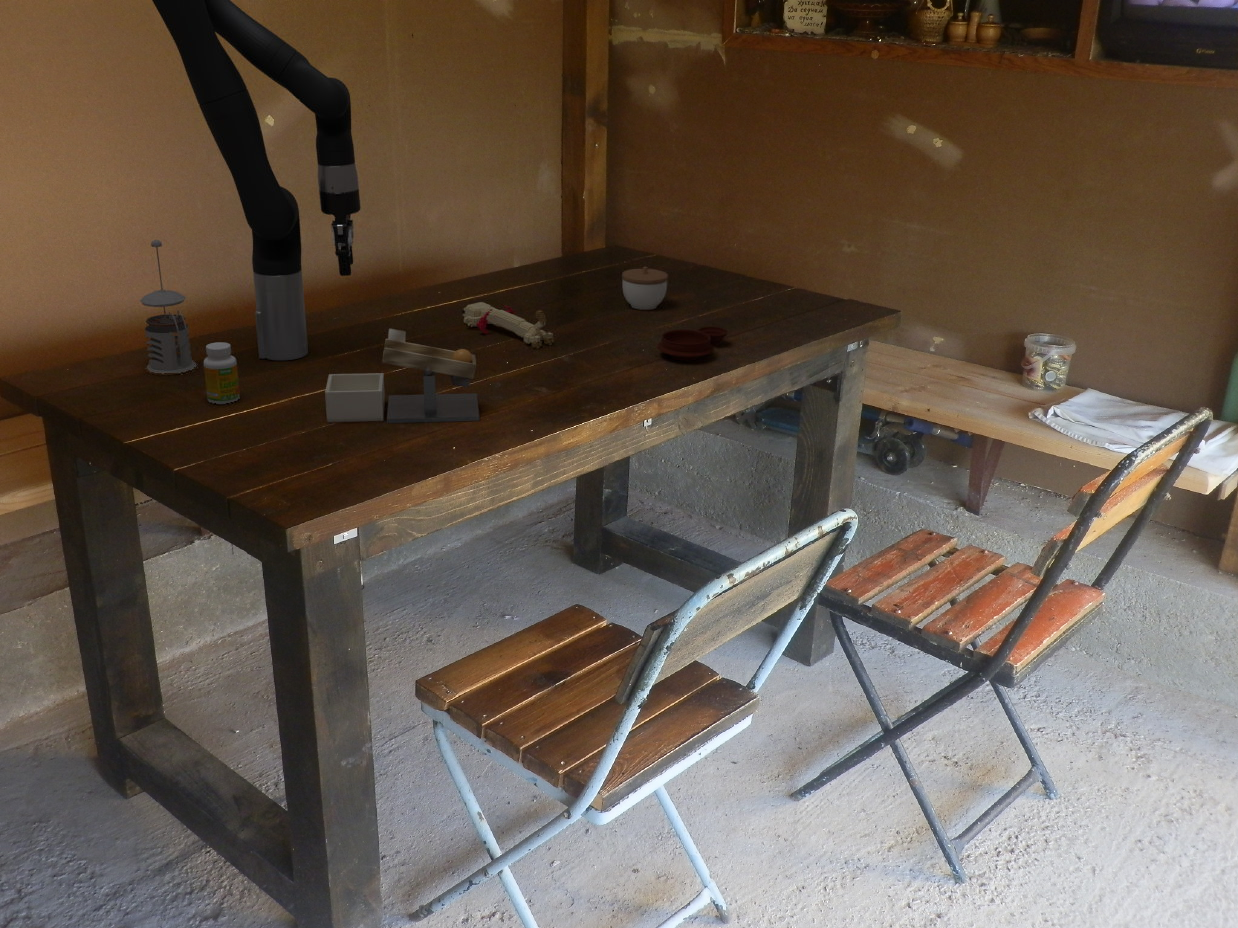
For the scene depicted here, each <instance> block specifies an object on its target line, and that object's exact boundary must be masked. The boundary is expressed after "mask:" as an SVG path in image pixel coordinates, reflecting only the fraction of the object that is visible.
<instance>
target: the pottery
mask: <svg viewBox="0 0 1238 928" xmlns="http://www.w3.org/2000/svg"><path fill="white" fill-rule="evenodd" d="M728 332H729V331H728V330H727V329H725V328H723V327H718V326H703V327H699V328H698V329H697V330H693V329H673V330H668V331H665V332H664V333H662V334H661V341H660V342H659V343H658V344H657V349H658V351H660V352H662V353H664V354H666V355H669V356H670V357H671V358H672V359H674V360H677V361H682V360H684V361H683V362H685V361H686V362H688V361H689V360H693V361H696V359H697V360H698V358H699V359H700V358H701V357H703V356H708V355H710V354H712V353H713V352H714V350H715V347H717V346H719V345H720V344H719V343H720V342H721V341H723V339H724V338H725V337H726V336H727V334H728ZM689 362H690V361H689Z"/></svg>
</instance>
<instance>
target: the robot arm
mask: <svg viewBox="0 0 1238 928" xmlns="http://www.w3.org/2000/svg"><path fill="white" fill-rule="evenodd" d="M151 2H152V3H153V5H154V7H155V8H156V10H157V12H158V14H159V15H160V17H161V19H162V22H163V23H164V24H165V26H166V29H167V30H168V32H169V34H170V36H171V38H172V40H173V41H174V44H175V46H176V48H177V51H178V52H179V55H180V58H181V61H182V64H183V67H184V70H185V72H186V73H185V74H186V75H187V76H186V77H187V78H188V80H189V83H190V87H191V88H192V91H193V93H194V96H195V99H196V101H197V103H198V106H199V108H200V111H201V113H202V116H203V119H204V120H205V122H206V125H207V126H208V129H209V130H210V131H209V132H210V134H211V135H212V137H213V140H214V142H215V143H216V146H217V148H218V150H219V152H220V154H221V157H222V158H223V160H224V163H225V164H226V165H227V168H228V170H229V171H230V174H231V176H232V179H233V182H234V185H235V189H236V191H237V194H238V197H239V200H240V203H241V207H242V210H243V213H244V217H245V220H246V223H247V225H248V227H249V228H250V230H251V234H252V255H251V257H252V258H251V262H252V263H251V264H252V273H253V274H252V275H253V283H254V295H255V307H256V308H255V312H254V318H255V328H256V338H257V348H258V359H265V358H267V359H266V360H272V361H290V360H296V359H301V358H303V357H305V356H307V355H308V354H309V351H308V350H309V349H308V335H307V324H306V323H307V321H306V309H305V296H304V294H305V293H304V283H303V270H302V269H303V268H302V237H301V236H302V235H301V220H300V219H301V218H300V209H299V205H298V202H297V199H296V198H295V195H293V193H292V192H291V191H290V190H288V189H287V188H285V187H283V186H281V185H280V184H279V181H278V179H277V178H276V175H275V173H274V171H273V168H272V166H271V164H270V162H269V158H268V155H267V150H266V146H265V145H266V144H265V141H264V135H263V131H262V128H261V124H260V119H259V116H258V113H257V109H256V107H255V105H254V102H253V99H252V96H251V95H250V92H249V90H248V87H247V85H246V83H245V80H244V79H243V76H242V75H241V73H240V71H239V70H238V67H236V64H235V63H234V62H233V59H232V58H231V56H230V55H229V54H228V52H227V51H226V50H225V47H224V46H223V45H222V43H221V42H220V40H219V38H218V35H219V36H220V37H221V38H223V39H224V40H225V41H226V42H227V43H228V44H230V46H232V48H234V49H235V50H236V51H237V52H238V53H239V54H240V55H241V56H242V57H243V58H244V59H245V60H246V61H248V62H249V63H250V64H251V65H253V66H254V67H255V68H256V69H257V70H258V71H260V73H263V74H264V75H266V77H268V78H270V79H271V80H272V81H274V82H275V83H276V84H277V85H279V86H280V87H282V88H283V89H286V90H287V91H288V92H289V93H290V94H291V95H292V96H293V97H295V98H296V100H298V101H299V102H300V103H301V104H302V105H303V106H305V107H306V108H307V109H308V110H310V111H311V112H312V113H313V114H314V117H315V118H314V119H315V124H316V136H315V151H316V161H317V183H318V194H319V195H318V196H319V203H320V211H321V213H322V214H324V215H327V216H328V215H329V216H330V215H332V216H334V217H333V218H334V220H331V221H332V222H331V224H330V225H331V232H332V234H333V235H332V236H333V237H332V238H333V245H334V247H335V252H334V254H335V256H336V257H337V261H338V263H337V264H338V269H339V276H341V277H344V276H346V277H347V276H351V275H352V267H351V265H354V256H353V255H354V252H353V244H354V241H353V239H354V220H353V219H351V215H353V214H357V213H358V212H360V211H361V199H360V196H361V195H360V188H359V177H358V176H359V175H358V171H357V167H356V159H355V148H354V141H353V136H352V102H351V96H350V94H351V93H350V91H349V89H348V87H347V86H346V84H345V83H344V82H342V80H340V79H338V78H336V77H328V76H327V75H325V74H324V73H323V72H321V71H320V70H319V69H318V68H316V67H315V66H313V65H312V64H311V63H310V62H309V60H308V58H306V57H305V56H304V55H303V54H302V53H301V52H299V51H298V50H297V49H296V48H295V47H293V46H292V45H290V44H289V43H288V42H286V41H285V40H284V39H282V38H281V37H279V36H278V35H277V34H275V33H274V32H273V31H271V30H270V29H268V28H267V27H266V26H264V25H263V24H261V23H260V22H258V21H257V20H256V19H254V18H253V17H251V15H249V14H248V13H246V12H245V11H243V10H242V8H240V7H239V6H237V4H235V3H234V2H233V1H231V0H151Z"/></svg>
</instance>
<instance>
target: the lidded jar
mask: <svg viewBox="0 0 1238 928" xmlns="http://www.w3.org/2000/svg"><path fill="white" fill-rule="evenodd" d="M621 279H622V292H623V296H624V298H625V300H626V301H627V303H628V304H630V307H631V308H633V309H636V310H643V311H649V310H654V309H656V308H658V307H657V306H659V305H660V304H661V303H662V301H663V300H664V298H665V297H666V294H667V293H666V292H667V290H668V289H667V287H668V279H669V275H668V273H666V272H665V271H662V270H658V269H653V268H649V267H648V266H643V267H642V268H632V269H627V270H625V271H623V272H622V274H621Z"/></svg>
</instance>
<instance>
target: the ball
mask: <svg viewBox="0 0 1238 928" xmlns="http://www.w3.org/2000/svg"><path fill="white" fill-rule="evenodd" d="M455 351H456V352H455V353H454V354H453V357H452V360H457V361H462V362H468V363H472V355H471V354H472V353H471V352H470V351H469V350H468V349H465V348H460V349H458V350H455Z"/></svg>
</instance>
